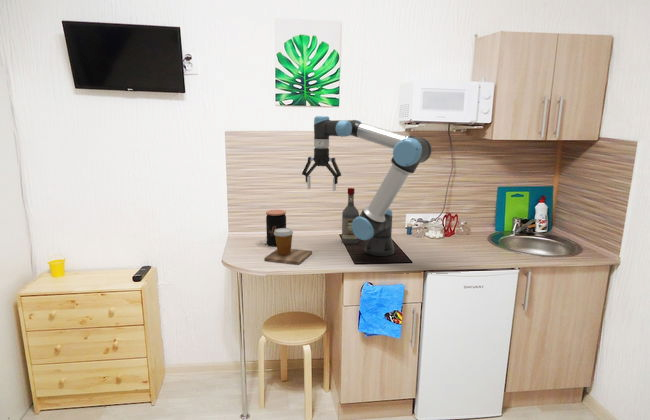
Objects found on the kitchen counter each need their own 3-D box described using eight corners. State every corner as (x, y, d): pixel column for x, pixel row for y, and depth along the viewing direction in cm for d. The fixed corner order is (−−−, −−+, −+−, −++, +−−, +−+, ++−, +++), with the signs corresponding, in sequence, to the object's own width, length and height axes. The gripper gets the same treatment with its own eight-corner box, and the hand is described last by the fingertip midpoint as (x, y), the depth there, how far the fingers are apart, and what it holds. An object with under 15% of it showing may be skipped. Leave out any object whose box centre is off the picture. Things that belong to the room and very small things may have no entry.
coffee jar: (262, 245, 237) (262, 212, 233) (274, 240, 246) (273, 208, 242) (279, 247, 232) (278, 214, 228) (290, 242, 241) (289, 210, 237)
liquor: (342, 239, 248) (342, 187, 242) (358, 239, 248) (359, 187, 241) (341, 243, 239) (342, 189, 233) (358, 244, 239) (359, 190, 232)
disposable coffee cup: (290, 256, 212) (289, 232, 209) (272, 256, 214) (271, 232, 211) (296, 251, 221) (295, 228, 218) (278, 250, 223) (277, 227, 220)
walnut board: (312, 253, 222) (312, 250, 222) (299, 265, 206) (299, 261, 205) (279, 250, 228) (279, 247, 227) (264, 261, 211) (264, 258, 211)
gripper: (295, 147, 219) (295, 189, 223) (343, 148, 211) (343, 192, 216) (300, 146, 226) (301, 187, 230) (347, 147, 218) (346, 189, 223)
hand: (321, 189), depth 223 cm, fingers open, 13 cm apart
